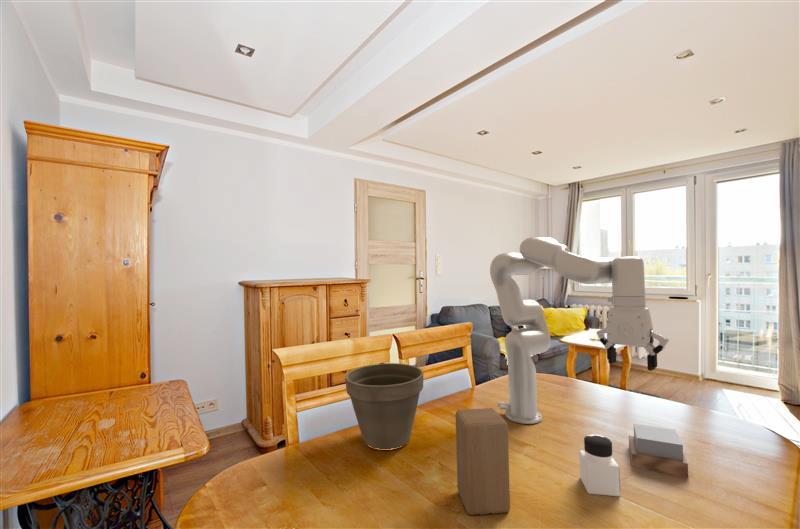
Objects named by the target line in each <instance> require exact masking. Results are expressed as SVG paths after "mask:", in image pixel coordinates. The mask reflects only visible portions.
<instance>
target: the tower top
mask: <svg viewBox="0 0 800 529" xmlns="http://www.w3.org/2000/svg"><path fill="white" fill-rule="evenodd" d="M633 436H634V439H635V444H636V448H637V453H643V454H648V455H654V456H659V457H665V458H671V459H676V460H682V461H683V454H684V445H683V443H682V440H681V439H680V437H679V435H678V432H677V430H676V429H672V428H665V427H657V426H650V425H645V424H644V425H643V424H637V423H633Z"/></svg>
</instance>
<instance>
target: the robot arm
mask: <svg viewBox="0 0 800 529" xmlns="http://www.w3.org/2000/svg"><path fill="white" fill-rule="evenodd" d="M545 267H546V268H549V269H552V270H553V271H554V272H555V273H556V274H557V275H558V276H560V277H563V278H565V279H568V280H571V281H574V282H576V283H579V284H584V285H597V284H599V285H600V284H601V285H603V284H611V286H612V288H611V290H612V292H611V293H612V294H611V297H608V298H607V302H608V303H611V305H612V306H609V309H608V313H607V321H606V322H607V324H606V327H604V328H603V329H600V330H597V331H596V336H597V337H598V339H599V342H600V343H601V344H602V345H603V346H604V349H606V359H607V360H608V364H611V365H612V364H614V363H617V350H616V349H617V348H616V347H615V346H616V345H620V346H627V347H636V348H643V349H644V350H645V351H646V352H647V353H648V354H647V355H646V360H647V361H646V364H647V371H651V372H652V371H654V370H656V368H657V367H658V355H659V354H660V353H661V352H662V351H664V350H665V348H666V346H667V345H668V343H669V338H667V337H665V336H664V335H662V334H660V333H658V332H656V331H654V329H653V321H652V316H651V313H650V309H649V308H648V307H646V289H645V288H646V285H645V284H646V281H645V263H644V259H643V258H642V257H639V256H620V257H619V256H618V257H615V258H614V257H599V256H597V257H596V256H595V257H594V256H593V257H588V256H587V257H586V256H580V255H578V254H575V253H572V252H571V250H570V248H569V247H568V246H567V245H565V244H562V243H559V242H558V241H557V240H556V239H554V238H552V237H545V236H544V237H543V236H541V237H540V236H531V237H530V236H529V237H527V238H525V239H524V240H523V241H522V242H521V243H520V245H519V252H504V253H500V254H497V255H496V256H495V257H494V258H493V259H492V261H491V263H490V267H489V274H490V279H491V283H492V285H493V287H494V289H495V292H496V296H497V300H498V305H499V308H500V312H501V317H502V320H503V321H504V323H505V324H506V325H507V326H509V327H519V326H525V328H521V329H520V328H519V329H514V330H512V331H510V332H509V333H507V334H506V335H505V338H504V348H505V352H506V357H507V369H508V370H507V371H508V372H507V373H508V399H509V400H508V401H507V402H503V401H497V407H498V408H499V409H500V410H505V413H504V415H505V416H504V417H506V419H508V420H509V421H512V422H514V423H518V424H523V425H525V424H527V425H532V424H537V423H540V422H541V421H542V420H543V415H542V414H541V413H540V412H539V411H538V403H537V402H538V397H537V392H538V391H537V370H536V365H535V363H534V361H533V359H532V355H538V354H542V353H545V352H547V351H549V349H550V347H551V342H552V340H551V334H550V330H549V328H548V324H547V320H546V317H545V313H544V311H543V308H542V306H541V305H540V303H538V301H536V300H534V299H529V298H527V299H523V296H522V293H521V290H520V287H519V285H518V284H517V282H516V281H515V280H514V279H513V276H528V275H533V274H535V273H536V272H538V271H539V270H542V269H543V268H545ZM605 335H606V336H605ZM654 339H655V340H657V341H658V345H657V346H655V345H654Z"/></svg>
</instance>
